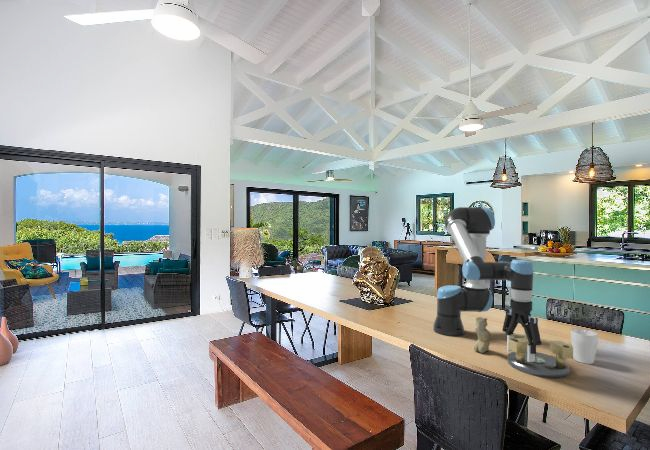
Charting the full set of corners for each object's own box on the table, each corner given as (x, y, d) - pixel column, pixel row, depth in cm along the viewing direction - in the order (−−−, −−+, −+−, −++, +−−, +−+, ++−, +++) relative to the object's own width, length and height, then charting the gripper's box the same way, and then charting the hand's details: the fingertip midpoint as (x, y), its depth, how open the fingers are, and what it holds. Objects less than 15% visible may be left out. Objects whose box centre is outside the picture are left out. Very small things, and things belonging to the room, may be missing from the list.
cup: (564, 356, 146) (565, 328, 146) (584, 356, 147) (585, 328, 147) (582, 365, 137) (583, 336, 137) (603, 365, 138) (603, 335, 138)
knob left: (523, 359, 138) (524, 337, 138) (531, 363, 134) (532, 340, 134) (508, 360, 136) (509, 338, 136) (516, 364, 132) (516, 341, 132)
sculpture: (471, 350, 153) (471, 317, 152) (480, 347, 156) (481, 314, 156) (483, 355, 148) (483, 320, 147) (492, 351, 152) (493, 317, 151)
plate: (513, 373, 130) (513, 365, 130) (502, 352, 150) (503, 346, 150) (578, 381, 124) (578, 373, 124) (558, 359, 144) (558, 352, 144)
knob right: (549, 362, 134) (550, 340, 134) (560, 362, 134) (560, 340, 134) (562, 370, 127) (562, 346, 127) (572, 370, 127) (573, 346, 127)
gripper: (553, 306, 125) (552, 367, 125) (508, 293, 146) (507, 345, 147) (536, 307, 123) (535, 369, 123) (493, 293, 145) (492, 346, 145)
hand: (520, 356), depth 135 cm, fingers open, 10 cm apart
